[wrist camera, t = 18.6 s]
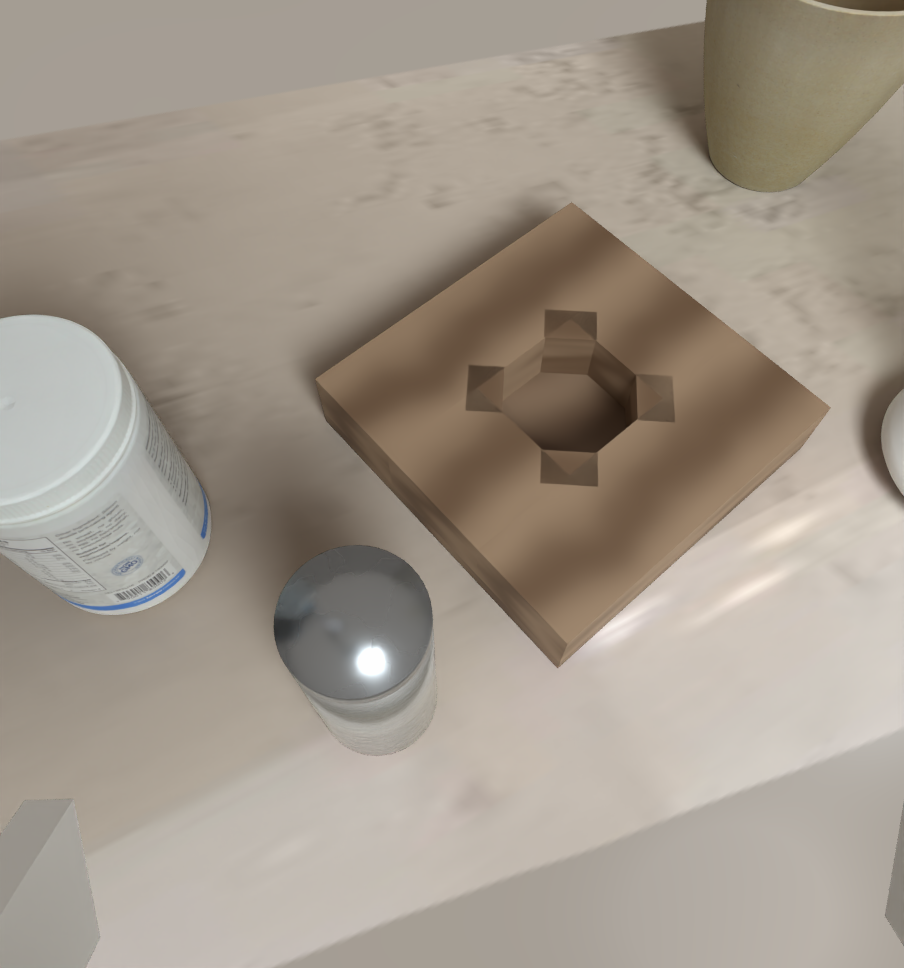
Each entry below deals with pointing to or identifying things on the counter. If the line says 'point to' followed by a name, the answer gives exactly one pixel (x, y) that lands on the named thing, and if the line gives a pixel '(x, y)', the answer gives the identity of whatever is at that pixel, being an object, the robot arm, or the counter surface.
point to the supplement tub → (91, 474)
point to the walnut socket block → (567, 424)
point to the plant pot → (794, 82)
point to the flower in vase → (894, 440)
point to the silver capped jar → (361, 646)
